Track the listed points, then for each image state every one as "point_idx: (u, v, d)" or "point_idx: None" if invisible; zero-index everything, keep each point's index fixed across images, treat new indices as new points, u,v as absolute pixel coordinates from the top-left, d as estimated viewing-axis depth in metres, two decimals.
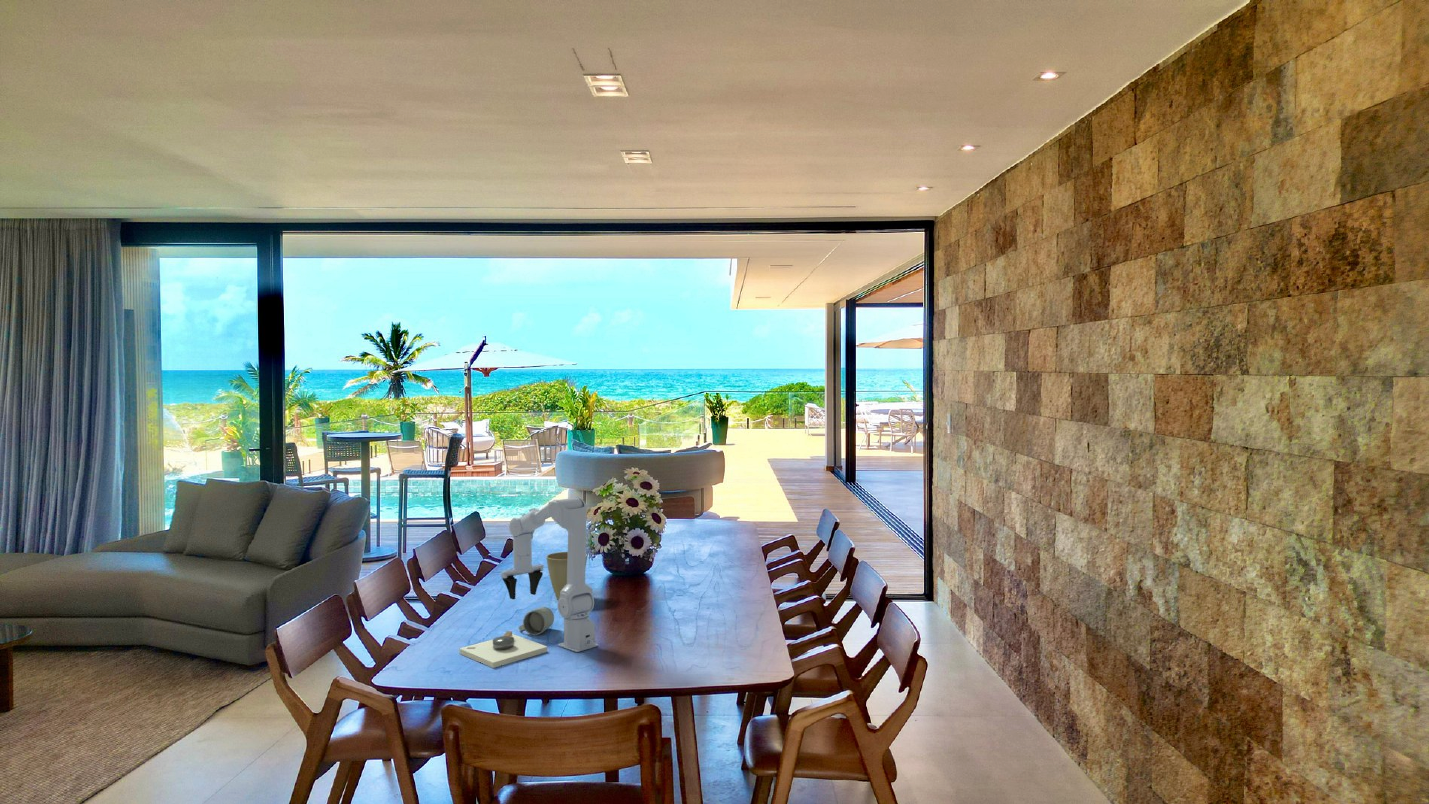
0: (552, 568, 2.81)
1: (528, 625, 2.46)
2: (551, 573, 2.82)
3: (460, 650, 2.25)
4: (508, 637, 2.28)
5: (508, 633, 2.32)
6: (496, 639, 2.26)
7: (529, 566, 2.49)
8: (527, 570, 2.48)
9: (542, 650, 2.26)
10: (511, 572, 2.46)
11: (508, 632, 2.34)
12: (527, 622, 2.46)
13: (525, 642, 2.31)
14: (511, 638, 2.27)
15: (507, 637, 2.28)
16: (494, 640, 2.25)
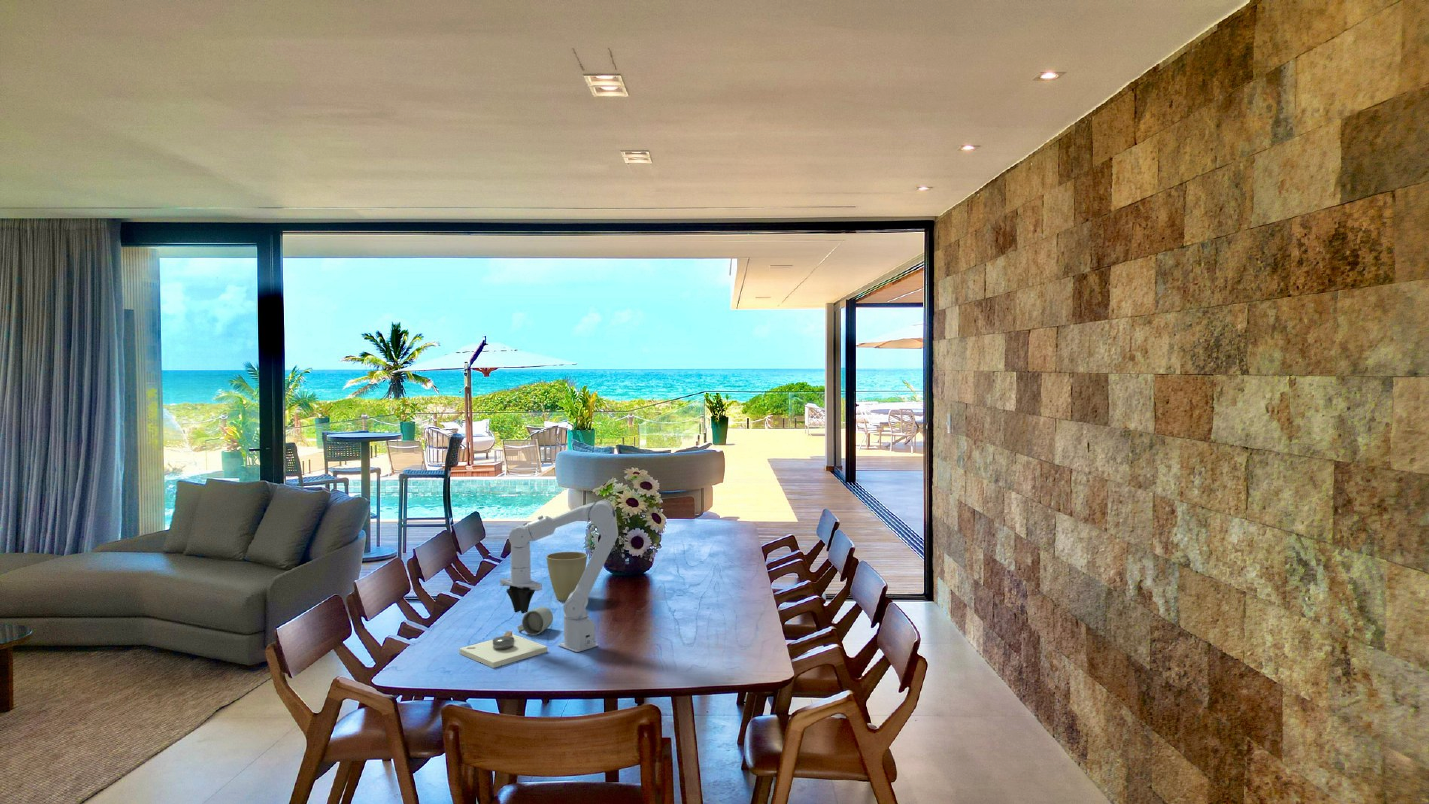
0: (552, 568, 2.81)
1: (527, 625, 2.46)
2: (551, 573, 2.82)
3: (460, 650, 2.25)
4: (508, 637, 2.28)
5: (508, 633, 2.32)
6: (496, 639, 2.26)
7: (516, 580, 2.29)
8: (513, 584, 2.29)
9: (542, 650, 2.26)
10: (504, 581, 2.33)
11: (508, 632, 2.34)
12: (526, 622, 2.46)
13: (525, 642, 2.31)
14: (511, 638, 2.27)
15: (507, 637, 2.28)
16: (494, 640, 2.25)
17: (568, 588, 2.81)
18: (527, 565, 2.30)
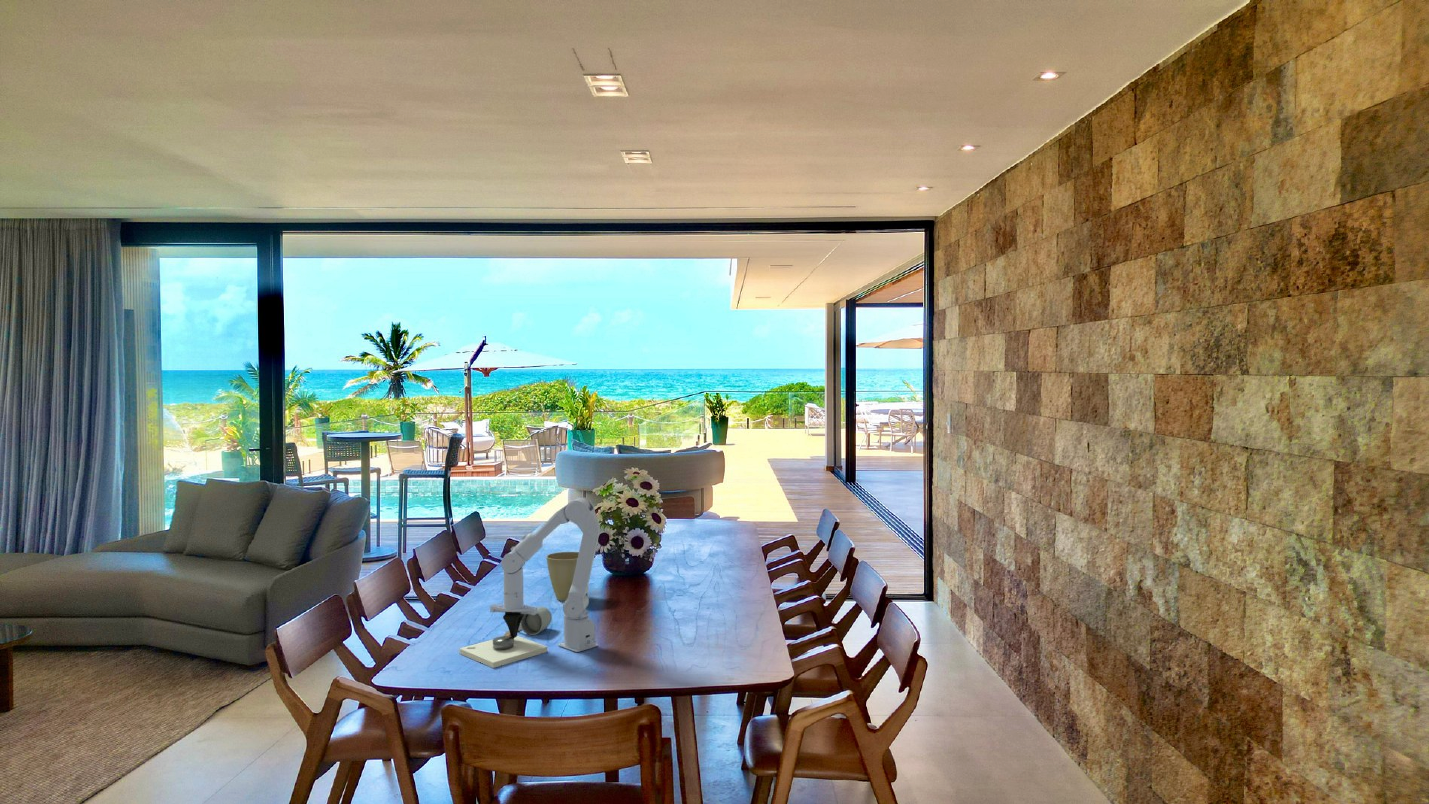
0: (552, 568, 2.81)
1: (525, 625, 2.46)
2: (551, 573, 2.82)
3: (460, 650, 2.25)
4: (508, 637, 2.28)
5: (508, 633, 2.32)
6: (496, 639, 2.26)
7: (511, 606, 2.30)
8: (508, 610, 2.30)
9: (542, 650, 2.26)
10: (496, 608, 2.32)
11: (508, 632, 2.34)
12: (524, 622, 2.46)
13: (525, 642, 2.31)
14: (511, 638, 2.27)
15: (507, 637, 2.28)
16: (494, 640, 2.25)
17: (568, 588, 2.81)
18: (519, 591, 2.31)
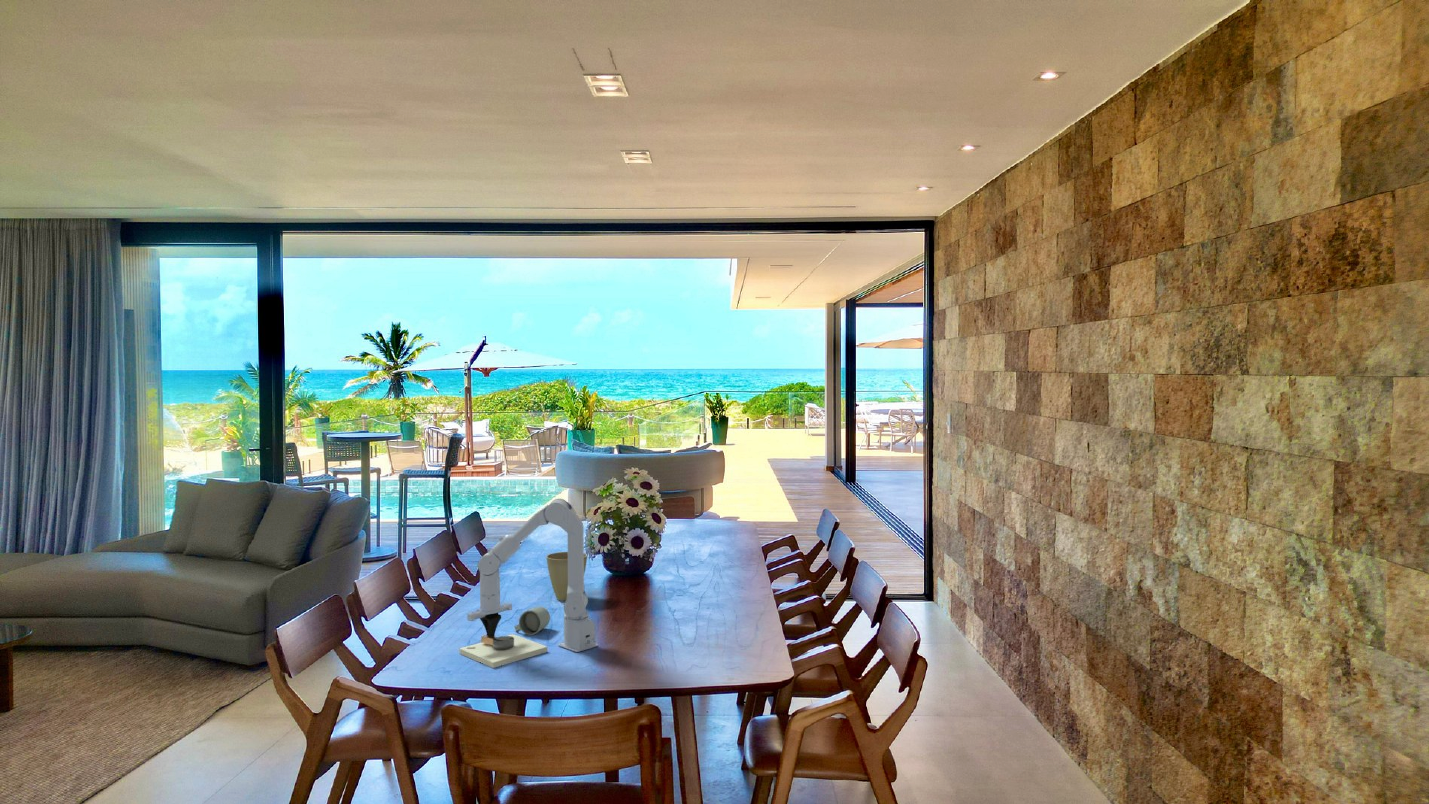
0: (552, 568, 2.81)
1: (524, 625, 2.46)
2: (551, 573, 2.82)
3: (460, 650, 2.25)
4: (503, 637, 2.28)
5: (489, 636, 2.29)
6: (498, 641, 2.25)
7: (498, 606, 2.29)
8: (496, 611, 2.29)
9: (542, 650, 2.26)
10: (479, 614, 2.26)
11: (485, 636, 2.30)
12: (523, 622, 2.46)
13: (525, 642, 2.31)
14: (507, 636, 2.29)
15: (502, 637, 2.28)
16: (499, 642, 2.24)
17: None
18: (496, 592, 2.29)
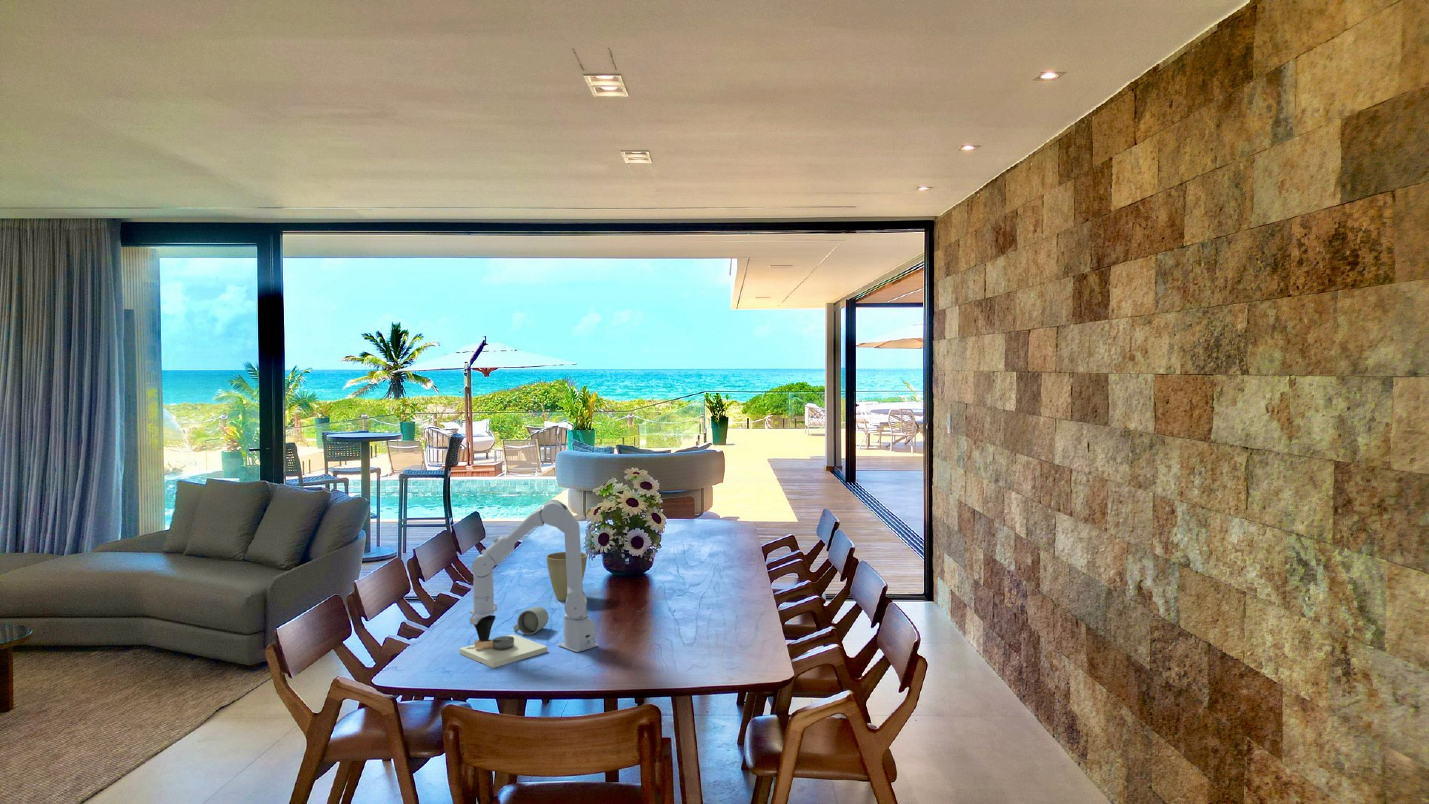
0: (552, 568, 2.81)
1: (522, 625, 2.46)
2: (551, 573, 2.82)
3: (460, 650, 2.25)
4: (499, 638, 2.27)
5: (483, 640, 2.26)
6: (502, 641, 2.24)
7: (493, 607, 2.29)
8: (493, 612, 2.28)
9: (542, 650, 2.26)
10: (481, 616, 2.23)
11: (477, 641, 2.25)
12: (521, 622, 2.46)
13: (525, 642, 2.31)
14: (502, 637, 2.29)
15: (498, 638, 2.27)
16: (505, 641, 2.24)
17: None
18: (490, 594, 2.27)
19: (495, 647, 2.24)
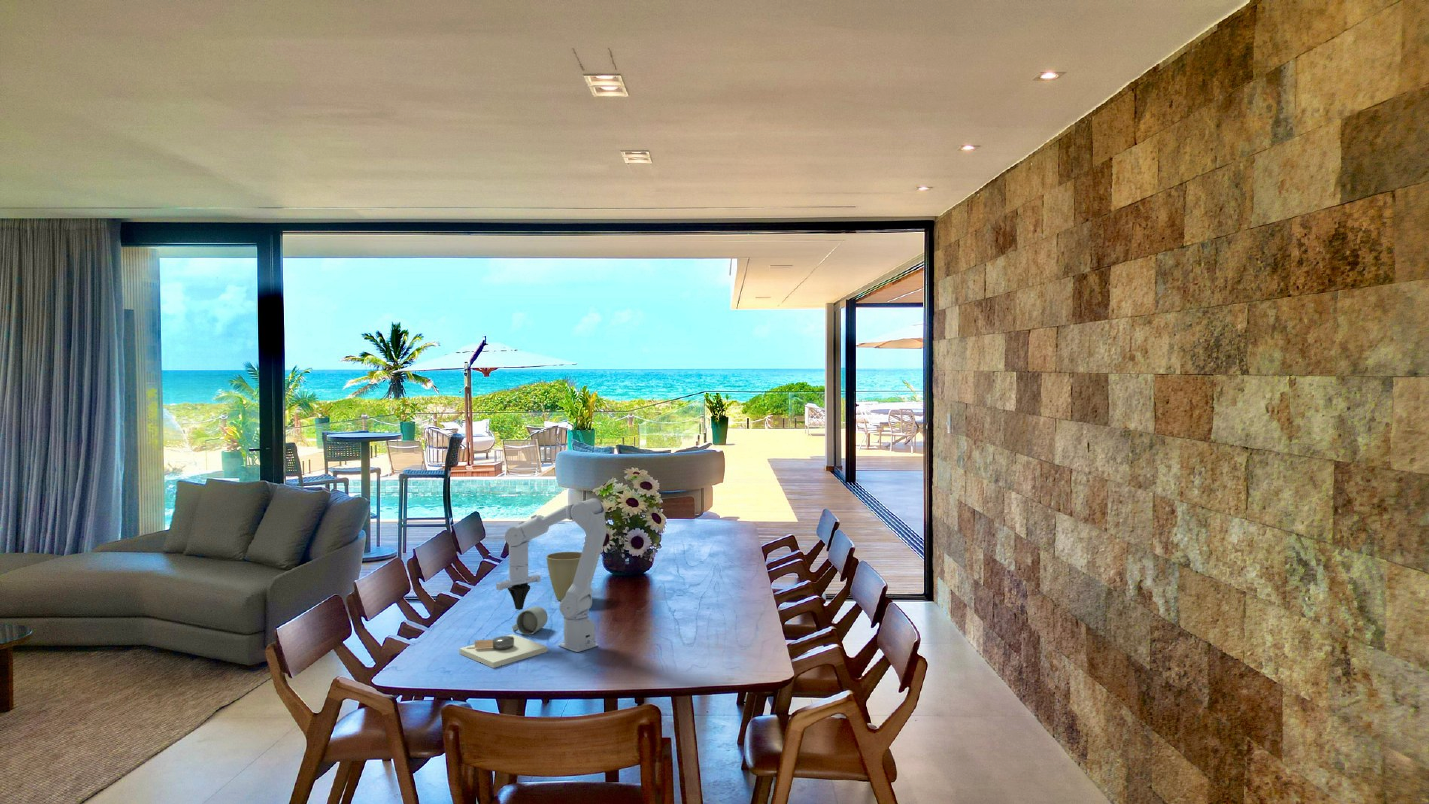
0: (552, 568, 2.81)
1: (521, 625, 2.46)
2: (551, 573, 2.82)
3: (460, 650, 2.25)
4: (499, 638, 2.27)
5: (483, 640, 2.26)
6: (502, 641, 2.24)
7: (526, 577, 2.37)
8: (524, 581, 2.36)
9: (542, 650, 2.26)
10: (507, 584, 2.34)
11: (477, 641, 2.25)
12: (520, 622, 2.46)
13: (525, 642, 2.31)
14: (501, 637, 2.29)
15: (498, 638, 2.27)
16: (505, 641, 2.24)
17: (568, 588, 2.81)
18: (522, 564, 2.36)
19: (495, 647, 2.24)
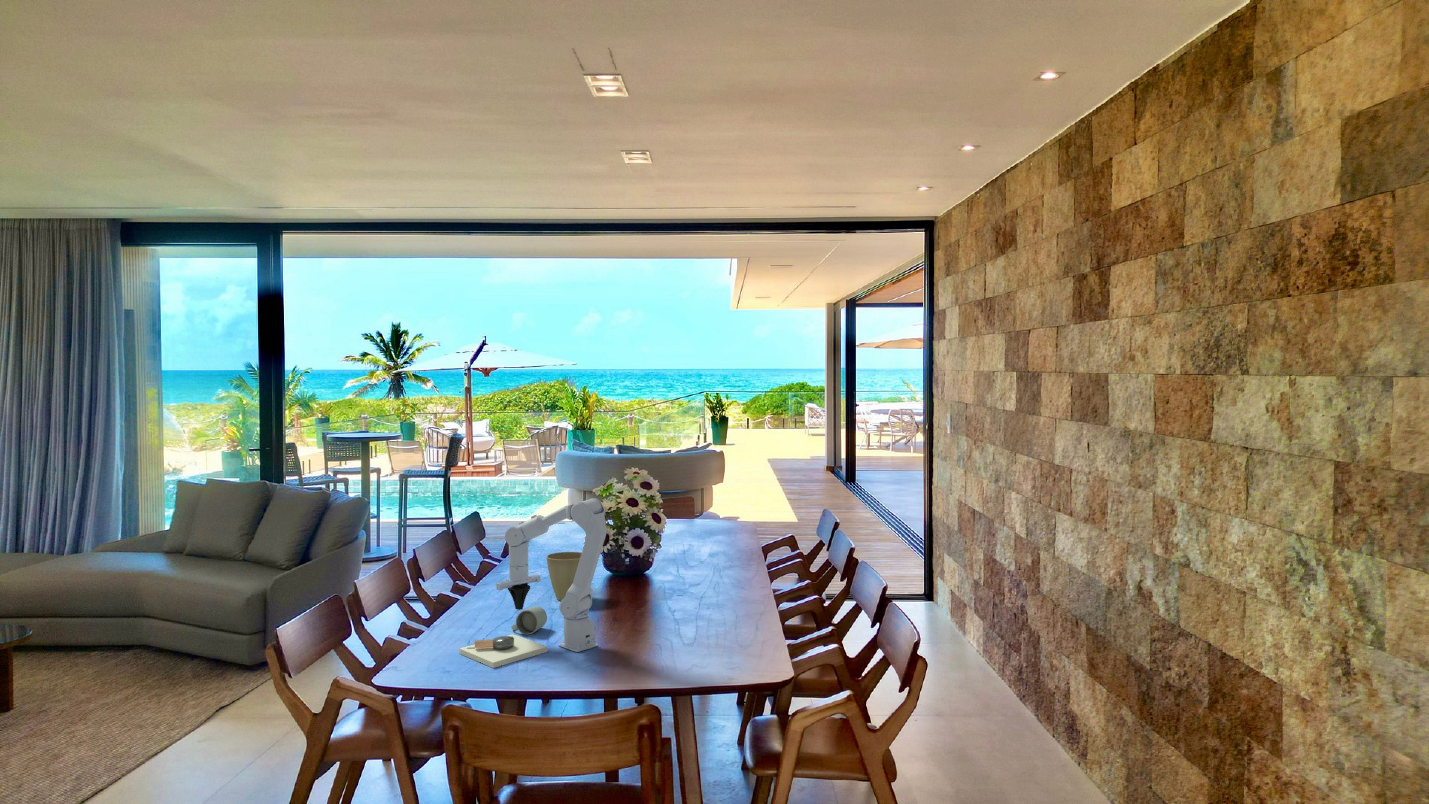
0: (552, 568, 2.81)
1: (521, 624, 2.46)
2: (551, 573, 2.82)
3: (460, 650, 2.25)
4: (499, 638, 2.27)
5: (483, 640, 2.26)
6: (502, 641, 2.24)
7: (526, 577, 2.37)
8: (524, 581, 2.36)
9: (542, 650, 2.26)
10: (507, 584, 2.34)
11: (477, 641, 2.25)
12: (520, 621, 2.46)
13: (525, 642, 2.31)
14: (501, 637, 2.29)
15: (498, 638, 2.27)
16: (505, 641, 2.24)
17: (568, 588, 2.81)
18: (522, 564, 2.36)
19: (495, 647, 2.24)
